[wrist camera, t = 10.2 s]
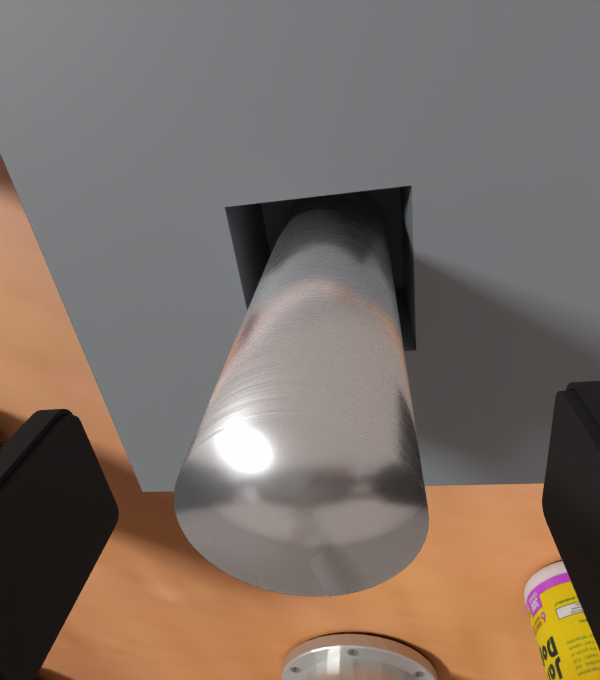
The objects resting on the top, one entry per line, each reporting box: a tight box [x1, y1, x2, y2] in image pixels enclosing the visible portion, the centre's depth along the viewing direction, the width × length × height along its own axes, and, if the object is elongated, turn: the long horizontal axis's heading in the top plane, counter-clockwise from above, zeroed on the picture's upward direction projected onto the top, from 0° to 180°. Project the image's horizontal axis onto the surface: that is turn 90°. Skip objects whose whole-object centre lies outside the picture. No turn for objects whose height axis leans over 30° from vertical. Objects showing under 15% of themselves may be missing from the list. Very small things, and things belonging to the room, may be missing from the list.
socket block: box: [0, 0, 600, 492], centre depth 18 cm, size 18×18×7 cm
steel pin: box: [173, 191, 429, 597], centre depth 14 cm, size 4×4×14 cm
